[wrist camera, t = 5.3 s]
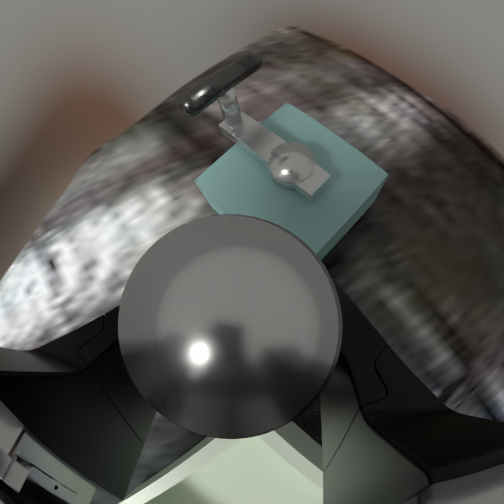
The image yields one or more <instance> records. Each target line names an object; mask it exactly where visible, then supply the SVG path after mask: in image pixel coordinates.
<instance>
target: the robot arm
mask: <svg viewBox="0 0 504 504" xmlns="http://www.w3.org/2000/svg"><path fill="white" fill-rule="evenodd" d="M333 283H334V286H335V288H336V291H337V294H338V298H339V302H340V306H341V312H342V324H343V328H342V343H341V348H340V353H339V357H338V360H337V363H336V366H335V369H334V372H333V374H332V376H331V378H330V380H329V381H328V383H327V385H326V387H325V388H324V390H323V391H322V393H321V394H320V406H321V426H322V454H323V504H504V422H501V421H495V420H490V419H484V418H479V417H474V416H469V415H464V414H460V413H457V412H455V411H453V410H451V409H450V408H448V407H447V406H446V405H444V404H443V403H442V402H441V401H440V400H439V399H438V398H437V397H436V396H435V395H434V394H433V393H432V392H431V391H430V390H429V389H428V388H427V387H426V386H425V385H424V384H423V383H422V382H421V381H420V380H419V379H418V378H417V377H416V376H415V374H414V373H413V372H412V371H411V370H410V369H409V368H408V367H407V366H406V365H405V364H404V363H403V362H402V360H401V359H400V358H399V357H398V356H397V354H396V353H395V352H394V351H393V350H392V348H391V347H390V346H389V345H387V342H386V341H385V340H384V339H383V337H382V336H381V335H380V334H379V332H378V331H377V330H376V329H375V328H374V326H373V325H372V324H371V323H370V321H369V320H368V319H367V318H366V317H365V315H364V314H363V313H362V312H361V311H360V309H359V308H358V307H357V306H356V305H355V303H354V302H353V301H352V300H351V299H350V298H349V296H348V295H347V294H346V293H345V292H344V290H343V289H342V288H341V287H340V286H339V285H338V283H337V282H336V281H335V280H333ZM119 308H120V305H119V306H117V307H116V308H114V309H112V310H110V311H109V312H107V313H105V315H101V316H100V317H98V318H96V319H95V320H93V321H91V322H89V323H87V324H86V325H84V326H82V327H80V328H78V329H76V330H74V331H72V332H70V333H68V334H66V335H64V336H62V337H60V338H58V339H56V340H53V341H51V342H49V343H47V344H45V345H43V346H41V347H39V348H36V349H33V350H26V351H21V350H13V349H7V348H1V347H0V504H90V503H91V501H92V498H93V496H94V494H95V491H96V489H97V490H99V491H101V492H103V493H106V494H108V495H110V496H112V497H115V498H117V499H119V500H122V501H123V499H124V497H125V495H126V492H127V489H128V487H129V484H130V481H131V478H132V476H133V473H134V470H135V467H136V465H137V462H138V459H139V457H140V454H141V451H142V449H143V446H144V445H143V444H144V443H145V440H146V438H147V435H148V433H149V430H150V427H151V425H152V422H153V420H154V417H155V415H156V412H157V410H155V409H154V408H153V407H152V406H151V405H150V404H149V403H148V402H147V401H146V399H145V398H144V397H143V396H142V395H141V393H140V392H139V390H138V389H137V388H136V386H135V385H134V383H133V381H132V379H131V377H130V375H129V373H128V371H127V369H126V366H125V363H124V361H123V357H122V353H121V349H120V344H119V336H118V317H119Z"/></svg>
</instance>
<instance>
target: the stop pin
mask: <svg viewBox="0 0 504 504" xmlns="http://www.w3.org/2000/svg"><path fill="white" fill-rule="evenodd" d="M342 328H343V324H342V312H341V306H340V302H339V298H338V294H337V291H336V288H335V286H334V283H333V280H332V278H331V277H330V275H329V273H328V271H327V269H326V267H325V266H324V264H323V263H322V262H321V260H320V259H319V258H318V256H317V255H316V254H315V253H314V251H313V250H312V249H311V248H310V247H309V246H308V245H307V244H306V243H305V242H303V241H302V240H301V239H300V238H298V237H297V236H296V235H294V234H293V233H291V232H290V231H288V230H286V229H285V228H283V227H281V226H279V225H277V224H275V223H272V222H270V221H268V220H264V219H261V218H257V217H253V216H247V215H239V214H223V215H214V216H208V217H204V218H200V219H197V220H194V221H191V222H189V223H186V224H183V225H181V226H179V227H178V228H176V229H174V230H172V231H170V232H169V233H167V234H166V235H165V236H163V237H162V238H160V239H159V240H158V241H157V242H156V243H155V244H153V245H152V246H151V247H150V248H149V249H148V250H147V252H146V253H145V254H144V255H143V256H142V257H141V259H140V260H139V262H138V263H137V265H136V266H135V268H134V269H133V271H132V273H131V275H130V277H129V279H128V281H127V283H126V286H125V289H124V292H123V294H122V299H121V303H120V308H119V317H118V336H119V344H120V349H121V353H122V357H123V361H124V363H125V366H126V369H127V371H128V373H129V375H130V377H131V379H132V381H133V383H134V385H135V386H136V388H137V389H138V390H139V392H140V393H141V395H142V396H143V397H144V398H145V399H146V401H147V402H148V403H149V404H150V405H151V406H152V407H153V408H154V409H155V410H157V411H158V412H159V413H160V414H161V415H163V416H164V417H165V418H167V419H168V420H170V421H172V422H173V423H175V424H176V425H178V426H180V427H182V428H184V429H186V430H189V431H191V432H194V433H197V434H200V435H204V436H208V437H214V438H220V439H241V438H250V437H255V436H259V435H263V434H266V433H269V432H271V431H274V430H276V429H279V428H281V427H283V426H284V425H286V424H288V423H290V422H291V421H293V420H294V419H296V418H297V417H298V416H300V415H301V414H302V413H303V412H305V411H306V410H307V409H308V408H309V407H310V406H311V405H312V404H313V403H314V401H315V400H316V399H317V398H318V397H319V395H320V394H321V393H322V391H323V390H324V388H325V387H326V385H327V383H328V381H329V380H330V378H331V376H332V374H333V372H334V369H335V366H336V363H337V360H338V357H339V353H340V348H341V343H342Z"/></svg>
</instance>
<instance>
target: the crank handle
mask: <svg viewBox="0 0 504 504" xmlns="http://www.w3.org/2000/svg"><path fill="white" fill-rule="evenodd" d="M261 65H262V60H261V57H260V56H259V55H258V54H256V53H254V52H247V53H245V54H243V55H241V56H240V57H238V58H237V59H235V60H233V61H232V62H230V63H229V64H227V65H226V66H224V67H223V68H221V69H220V70H219V71H217V72H216V73H214V74H213V75H211V76H210V77H208V78H207V79H206V80H204V81H203V82H202V83H200V84H199V85H197V86H196V87H195V88H193V89H192V90H191V91H189V92H188V93H187V94H185V95H184V96H183V97H182V98H181V100H180V103H179V107H180V110H181V112H182V113H183V114H185V115H187V116H195V115H197V114H199V113H200V112H201V111H203V110H204V109H205V108H207V107H208V106H209V105H210V104H212V103H213V102H214V101H216V100H217V99H218V102H219V105H220V108H221V111H222V114H223V117H224V121H223V122H222V123H220V124H219V128H220V131H221V133H222V134H223V135H225V136H226V137H228V138H229V139H230V140H232V141H233V142H234V143H236V144H237V145H238V146H240V147H241V148H242V149H244V150H245V151H246V152H248V153H249V154H250V155H252V156H253V157H254V158H256V159H257V160H258V161H259V162H261V163H262V164H263V165H265V166H266V167H267V168H268V169H270V174H271V178H272V180H273V182H274V183H275V184H276V185H277V186H278V187H280V188H281V189H284V190H287V191H297V192H298V193H300V194H301V195H302V196H303V197H304V198H306V199H307V200H308V201H309V202H311V201H312V200H313V199H314V198H315V197H316V196H317V195H318V194H319V193H320V192H321V191H322V190H323V189H324V188H325V187H326V186H327V185H328V184H329V183H330V179H331V175H330V174H329V173H327V172H326V171H325V170H324V169H322V168H321V167H320V166H318V165H317V164H316V163H315V158H314V155H313V153H312V151H311V150H310V149H309V148H308V147H307V146H305V145H303V144H301V143H297V142H286V141H284V140H283V139H282V138H280V137H279V136H277V135H276V134H274V133H273V132H272V131H270V130H269V129H267V128H266V127H264V126H263V125H261V124H260V123H258V122H257V121H255V120H254V119H252V118H251V117H249V116H248V115H246V114H245V113H243V112H241V111H240V108H239V104H238V101H237V97H236V93H235V90H234V86H236V85H237V84H239V83H240V82H241V81H243V80H244V79H246V78H247V77H249V76H250V75H252V74H253V73H255V72H256V71H257V70H259V69H260V67H261Z"/></svg>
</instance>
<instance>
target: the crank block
mask: <svg viewBox="0 0 504 504" xmlns="http://www.w3.org/2000/svg"><path fill="white" fill-rule="evenodd" d="M261 125H263V126H264V127H266V128H267V129H269V130H270V131H272V132H273V133H274V134H276V135H277V136H279V137H280V138H282V139H283V140H284V141H286V142H297V143H301V144H303V145H305V146H307V147H308V148H309V149H310V150H311V151H312V153H313V155H314V158H315V163H316V164H317V165H318V166H320V167H321V168H322V169H324V170H325V171H326V172H327V173H329V174H330V175H331V179H330V183H329V184H328V185H327V186H326V187H325V188H324V189H323V190H322V191H321V192H320V193H319V194H318V195H317V196H316V197H315V198H314V199H313V200H312V201H311V202H309V201H308V200H307V199H306V198H304V197H303V196H302V195H301V194H300V193H298V192H297V191H287V190H284V189H281V188H280V187H278V186H277V185H276V184H275V183H274V182H273V180H272V178H271V174H270V169H268V168H267V167H266V166H265V165H263V164H262V163H261V162H259V161H258V160H257V159H256V158H254V157H253V156H252V155H250V154H249V153H248V152H246V151H245V150H244V149H242V148H241V147H240V146H238V145H237V144H235V145H234V146H233V147H232V148H231V149H229V150H228V151H227V152H226V153H225V154H224V155H223V156H221V157H220V158H219V159H218V160H217V161H216V162H215V163H214V164H212V165H211V166H210V167H209V168H208V169H207V170H206V171H205V172H204V173H202V174H201V175H200V176H199V177H198V178H197V179H196V180H195V182H196V184H197V185H198V187H199V188H200V190H201V191H202V193H203V194H204V196H205V198H206V199H207V201H208V202H209V204H210V205H211V207H212V208H213V209H214V210H215V211H216V212H217V213H218V214H219V215H223V214H239V215H247V216H253V217H257V218H261V219H264V220H268V221H270V222H272V223H275V224H277V225H279V226H281V227H283V228H285V229H286V230H288V231H290V232H291V233H293V234H294V235H296V236H297V237H298V238H300V239H301V240H302V241H303V242H305V243H306V244H307V245H308V246H309V247H310V248H311V249H312V250H313V251H314V253H315V254H316V255H317V256H318V258H319V259H320V260H322V259H323V258H324V257H325V256H326V255H327V254H328V252H329V251H330V250H331V249H332V248H333V247H334V246H335V245H336V244H337V243H338V242H339V241H340V239H341V238H342V237H343V236H344V235H345V234H346V233H347V232H348V231H349V230H350V228H351V227H352V226H353V225H354V224H355V223H356V222H357V221H358V220H359V218H360V217H361V216H362V215H363V214H364V213H365V212H366V211H367V209H368V208H369V207H370V206H371V205H372V204H373V203H374V201H375V199H376V197H377V195H378V193H379V192H380V190H381V188H382V186H383V184H384V182H385V180H386V178H387V176H388V175H389V174H388V173H386V172H385V171H384V170H383V169H382V168H380V167H379V166H378V165H377V164H375V163H374V162H373V161H371V160H370V159H369V158H368V157H366V156H365V155H364V154H362V153H361V152H360V151H358V150H357V149H356V148H354V147H353V146H352V145H350V144H349V143H348V142H346V141H345V140H343V139H342V138H341V137H339V136H338V135H336V134H335V133H333V132H332V131H331V130H329V129H328V128H326V127H325V126H323V125H322V124H320V123H319V122H317V121H316V120H314V119H313V118H311V117H310V116H308V115H307V114H305V113H303V112H302V111H300V110H299V109H297V108H295V107H294V106H292V105H291V104H289V103H286V104H285V105H283V106H282V107H281V108H279V109H278V110H277V111H276V112H274V113H273V114H272V115H271V116H269V117H268V118H267V119H266V120H264V121H263V122H262V123H261Z"/></svg>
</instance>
